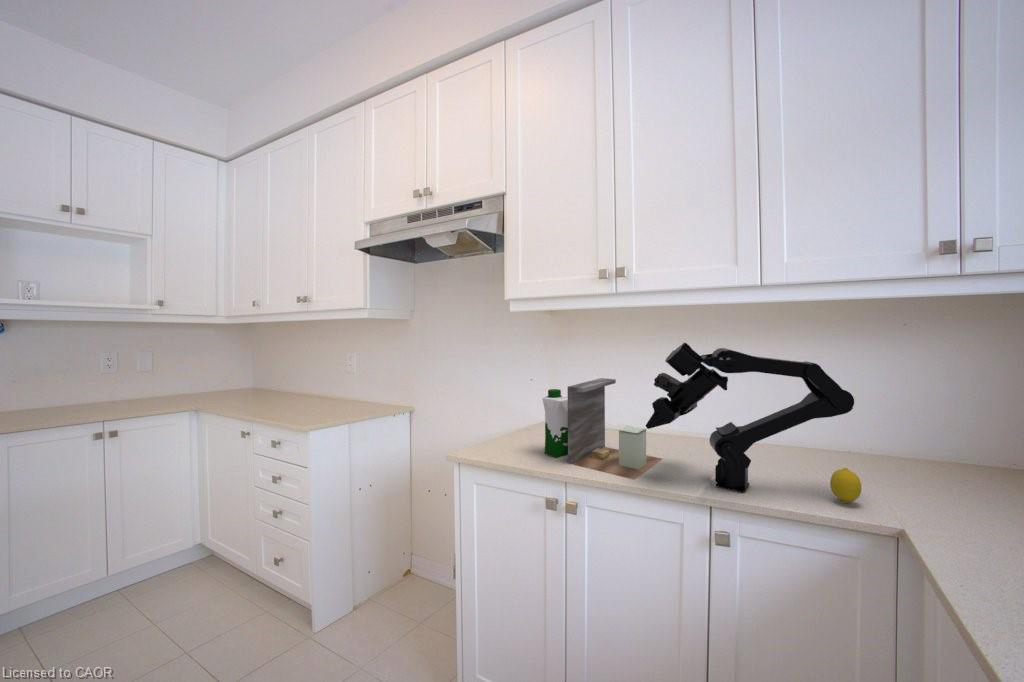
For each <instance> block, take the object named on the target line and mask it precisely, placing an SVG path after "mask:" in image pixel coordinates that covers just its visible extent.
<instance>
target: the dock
mask: <svg viewBox="0 0 1024 682" xmlns="http://www.w3.org/2000/svg"><path fill="white" fill-rule="evenodd" d="M616 382H617V380H616V379H615V378H604V377H600V378H596V379H593V380H588V381H585V382H579V383H576V384H572V385H568V386H567V396H568V454H567V464H569V465H573V466H578V467H581V468H585V469H589V470H593V471H597V472H601V473H605V474H610V475H614V476H618V477H622V478H627V479H630V480H636V479H638V478H639V477H640V476H642V475H643V474H645V473H646V472H647V471H648V470H650V469H652V468H653V467H654V466H656V465H657V464H659V463H660V462H661V461H662V460H663V458H662V457H657V456H651V455H647V454H646V464H645V465H644V466H642V467H641V468H640V469H638V470H637V469H633V468H629V467H624V466H620V465H619V448H618V449H617V448H611V447H607V446H606V411H605V410H606V409H605V408H606V402H605V401H606V398H605V397H606V396H605V395H606V393H605V391H606V387H607V386H610V385H614V384H616Z"/></svg>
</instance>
